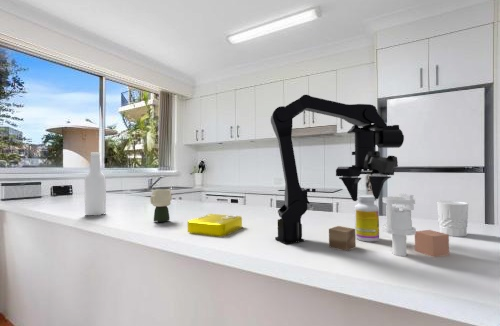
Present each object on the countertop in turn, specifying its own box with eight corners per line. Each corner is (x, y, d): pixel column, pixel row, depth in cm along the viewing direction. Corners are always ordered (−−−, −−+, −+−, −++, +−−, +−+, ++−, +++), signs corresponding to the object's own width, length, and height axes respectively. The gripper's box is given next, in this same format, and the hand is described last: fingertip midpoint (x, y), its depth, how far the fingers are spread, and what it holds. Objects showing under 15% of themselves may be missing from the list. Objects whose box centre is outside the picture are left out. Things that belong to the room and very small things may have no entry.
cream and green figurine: (165, 218, 114) (165, 188, 115) (177, 220, 111) (177, 189, 111) (144, 223, 105) (144, 191, 105) (157, 225, 101) (157, 191, 102)
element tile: (209, 224, 103) (209, 212, 103) (243, 228, 97) (243, 215, 97) (185, 233, 90) (184, 219, 90) (223, 238, 83) (222, 223, 83)
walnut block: (346, 251, 68) (345, 232, 68) (329, 247, 72) (328, 228, 72) (355, 247, 71) (355, 228, 71) (338, 243, 75) (338, 225, 75)
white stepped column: (403, 260, 61) (401, 195, 61) (377, 251, 67) (376, 193, 67) (423, 256, 63) (421, 194, 64) (396, 248, 70) (395, 191, 70)
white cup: (464, 232, 85) (463, 201, 85) (472, 238, 78) (472, 204, 78) (435, 230, 88) (434, 200, 88) (440, 235, 81) (439, 203, 81)
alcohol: (109, 213, 128) (109, 152, 129) (91, 216, 121) (90, 151, 121) (99, 212, 133) (99, 153, 133) (81, 215, 125) (80, 152, 126)
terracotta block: (433, 257, 63) (433, 236, 63) (415, 250, 68) (414, 231, 68) (449, 255, 64) (448, 234, 64) (429, 248, 69) (429, 229, 69)
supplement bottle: (382, 242, 75) (381, 197, 75) (357, 241, 76) (356, 197, 76) (375, 236, 81) (375, 195, 81) (353, 235, 82) (352, 194, 83)
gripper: (365, 145, 68) (366, 205, 67) (410, 146, 76) (411, 200, 76) (334, 148, 78) (334, 200, 77) (377, 149, 86) (377, 197, 86)
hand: (365, 199), depth 79 cm, fingers open, 9 cm apart
